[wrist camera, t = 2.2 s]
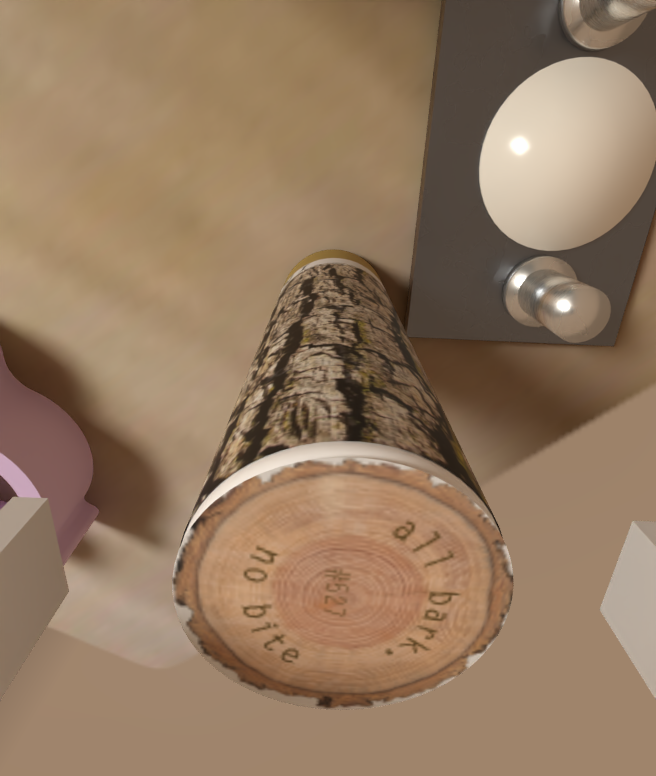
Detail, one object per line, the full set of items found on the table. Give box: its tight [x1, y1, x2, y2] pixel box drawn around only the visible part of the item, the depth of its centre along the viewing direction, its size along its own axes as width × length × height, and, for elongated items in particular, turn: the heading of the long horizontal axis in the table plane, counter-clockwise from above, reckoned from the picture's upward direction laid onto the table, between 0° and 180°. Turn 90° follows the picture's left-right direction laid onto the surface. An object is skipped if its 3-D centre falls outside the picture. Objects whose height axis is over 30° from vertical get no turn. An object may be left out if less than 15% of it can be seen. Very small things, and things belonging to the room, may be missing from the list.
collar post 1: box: [502, 255, 611, 343], centre depth 28 cm, size 4×4×6 cm
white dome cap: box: [479, 57, 656, 251], centre depth 28 cm, size 10×10×1 cm
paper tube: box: [172, 250, 513, 710], centre depth 21 cm, size 7×7×25 cm
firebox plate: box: [404, 0, 656, 346], centre depth 29 cm, size 20×14×1 cm
